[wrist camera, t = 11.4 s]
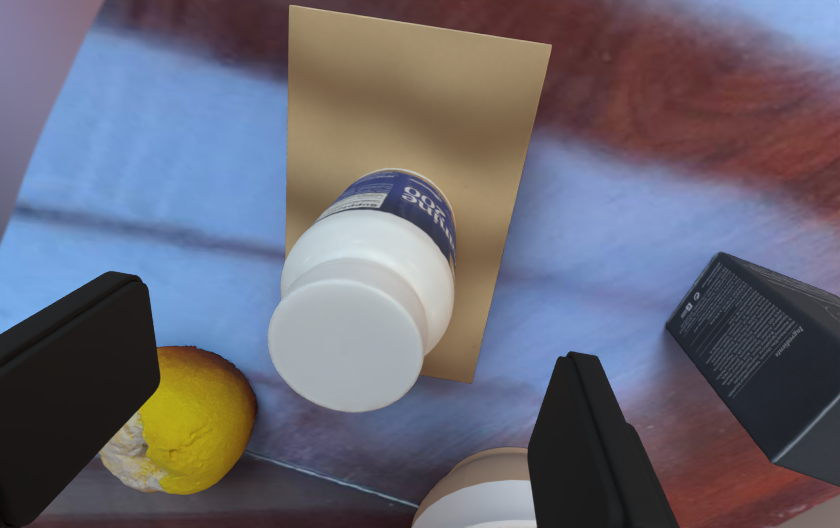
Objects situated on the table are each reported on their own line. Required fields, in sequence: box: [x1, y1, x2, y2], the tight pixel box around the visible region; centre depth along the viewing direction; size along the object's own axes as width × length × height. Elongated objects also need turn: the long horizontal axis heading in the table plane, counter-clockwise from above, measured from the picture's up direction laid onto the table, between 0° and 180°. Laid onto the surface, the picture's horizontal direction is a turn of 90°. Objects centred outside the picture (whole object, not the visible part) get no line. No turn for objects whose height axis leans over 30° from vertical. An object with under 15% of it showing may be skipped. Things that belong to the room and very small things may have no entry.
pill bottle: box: [268, 168, 456, 412], centre depth 15 cm, size 5×5×10 cm
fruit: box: [98, 346, 257, 495], centre depth 31 cm, size 11×10×8 cm
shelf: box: [285, 5, 552, 384], centre depth 23 cm, size 16×10×6 cm, turn 172°
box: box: [666, 252, 840, 487], centre depth 22 cm, size 8×6×11 cm
